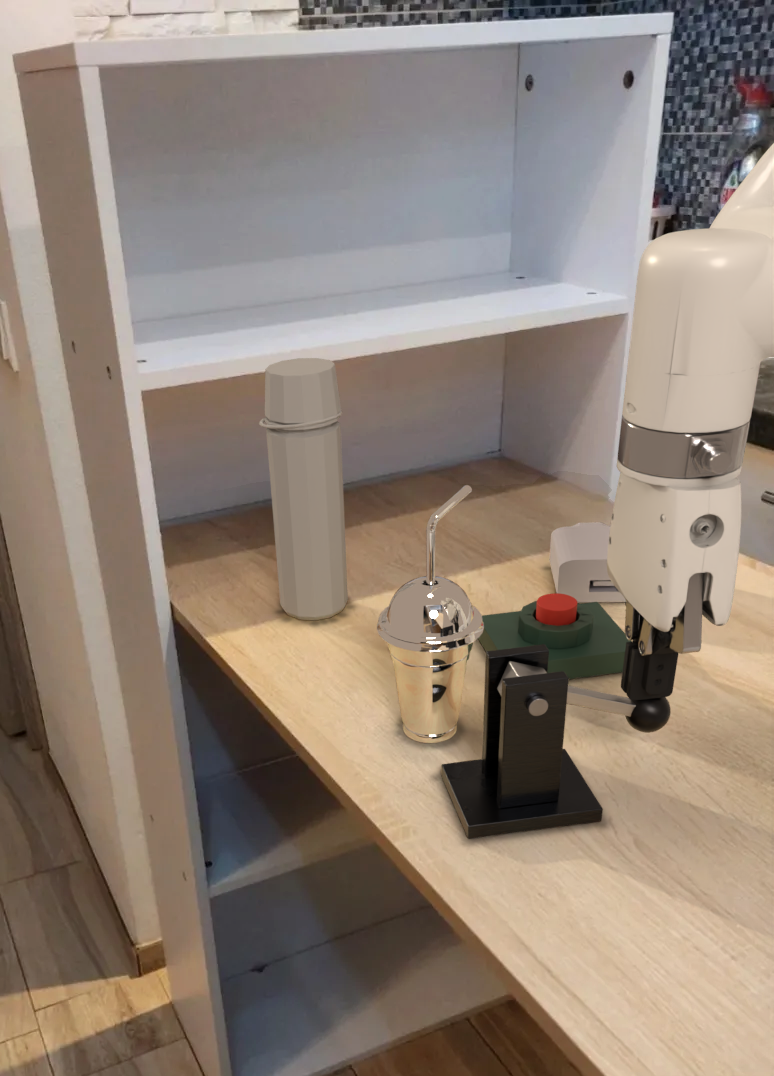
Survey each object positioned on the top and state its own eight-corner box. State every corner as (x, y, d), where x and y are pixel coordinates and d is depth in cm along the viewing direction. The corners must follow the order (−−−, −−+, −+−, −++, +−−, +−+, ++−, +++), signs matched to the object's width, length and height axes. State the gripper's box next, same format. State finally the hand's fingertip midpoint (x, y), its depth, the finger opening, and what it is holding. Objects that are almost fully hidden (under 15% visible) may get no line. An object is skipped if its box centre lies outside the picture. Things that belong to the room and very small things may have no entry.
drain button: (567, 608, 96) (569, 591, 96) (581, 625, 93) (583, 608, 92) (530, 612, 96) (531, 595, 95) (543, 629, 93) (544, 612, 92)
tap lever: (647, 721, 78) (666, 685, 76) (665, 744, 75) (685, 707, 74) (492, 689, 75) (508, 652, 73) (505, 712, 72) (522, 674, 71)
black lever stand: (563, 760, 82) (575, 629, 76) (601, 821, 75) (617, 683, 69) (441, 776, 82) (442, 645, 75) (468, 839, 75) (471, 701, 69)
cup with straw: (362, 717, 90) (354, 499, 79) (453, 691, 92) (456, 476, 82) (409, 767, 83) (406, 536, 72) (505, 737, 85) (516, 510, 75)
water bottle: (364, 609, 107) (356, 365, 94) (301, 631, 104) (283, 382, 91) (317, 580, 114) (303, 349, 101) (256, 600, 111) (234, 364, 98)
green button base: (595, 621, 101) (599, 584, 99) (636, 670, 93) (641, 631, 91) (476, 635, 101) (477, 599, 99) (506, 686, 92) (508, 647, 90)
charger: (627, 543, 116) (650, 602, 104) (543, 544, 118) (556, 602, 105) (631, 503, 114) (656, 558, 101) (546, 505, 115) (559, 560, 103)
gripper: (802, 477, 59) (746, 743, 68) (685, 407, 71) (652, 640, 81) (675, 491, 58) (637, 756, 68) (580, 418, 71) (559, 650, 81)
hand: (645, 692), depth 75 cm, fingers closed
